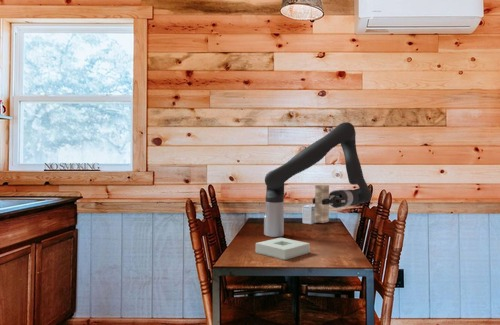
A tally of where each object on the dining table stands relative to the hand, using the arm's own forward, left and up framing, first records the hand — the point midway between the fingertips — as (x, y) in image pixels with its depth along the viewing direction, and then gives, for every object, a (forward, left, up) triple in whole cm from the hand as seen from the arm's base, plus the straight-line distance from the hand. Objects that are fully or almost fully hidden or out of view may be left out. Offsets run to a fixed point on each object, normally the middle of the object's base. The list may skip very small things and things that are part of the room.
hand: (318, 201), depth 152 cm
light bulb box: (-48, +61, -22) cm, 81 cm away
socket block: (-12, -8, -22) cm, 26 cm away
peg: (0, +3, -8) cm, 9 cm away
